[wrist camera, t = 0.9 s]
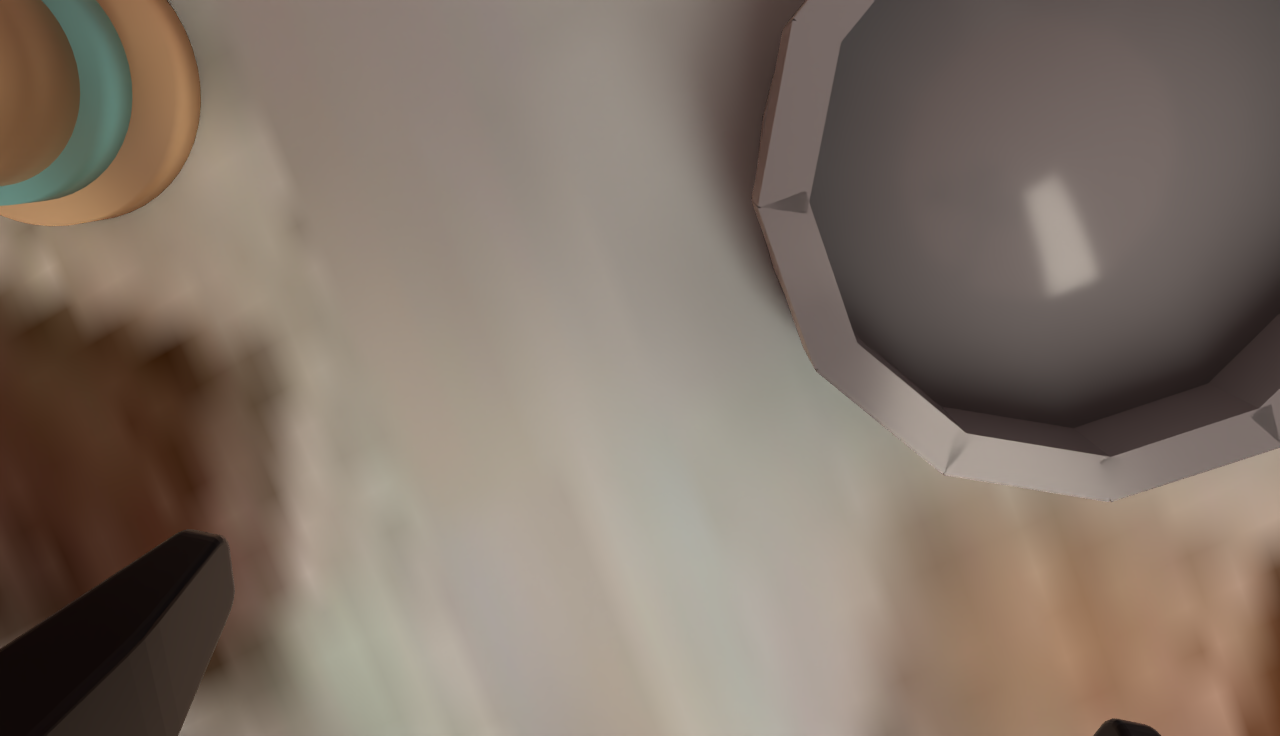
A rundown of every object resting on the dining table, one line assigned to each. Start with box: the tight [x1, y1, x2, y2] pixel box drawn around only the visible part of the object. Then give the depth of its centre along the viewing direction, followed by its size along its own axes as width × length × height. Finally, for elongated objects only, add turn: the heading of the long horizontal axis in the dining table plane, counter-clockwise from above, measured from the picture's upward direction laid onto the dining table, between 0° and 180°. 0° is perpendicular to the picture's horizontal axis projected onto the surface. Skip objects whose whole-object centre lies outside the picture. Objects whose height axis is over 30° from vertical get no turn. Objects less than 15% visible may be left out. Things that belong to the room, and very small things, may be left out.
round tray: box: [751, 0, 1280, 502], centre depth 20 cm, size 14×14×3 cm
